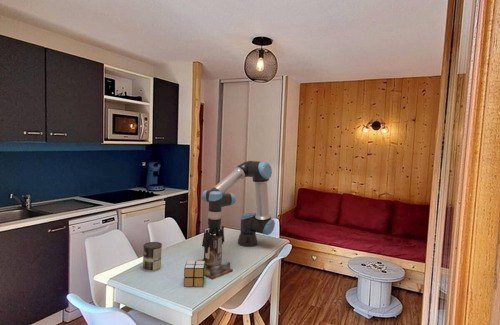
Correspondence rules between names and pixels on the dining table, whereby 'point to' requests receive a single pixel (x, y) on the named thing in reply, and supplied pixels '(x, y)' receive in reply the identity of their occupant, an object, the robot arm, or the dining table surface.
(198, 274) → the puzzle cube
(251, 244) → the robot arm
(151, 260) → the coffee can
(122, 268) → the dining table surface
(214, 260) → the coffee box
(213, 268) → the rail dock
